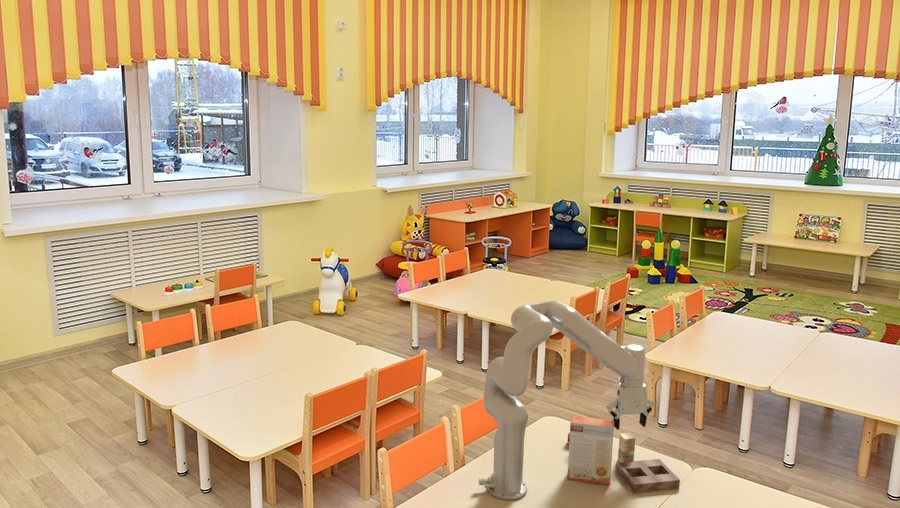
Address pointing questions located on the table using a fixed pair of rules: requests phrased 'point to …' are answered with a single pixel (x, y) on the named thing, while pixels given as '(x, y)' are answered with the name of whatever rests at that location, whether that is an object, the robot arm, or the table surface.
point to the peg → (626, 447)
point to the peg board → (647, 475)
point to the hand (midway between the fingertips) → (629, 426)
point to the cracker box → (590, 450)
